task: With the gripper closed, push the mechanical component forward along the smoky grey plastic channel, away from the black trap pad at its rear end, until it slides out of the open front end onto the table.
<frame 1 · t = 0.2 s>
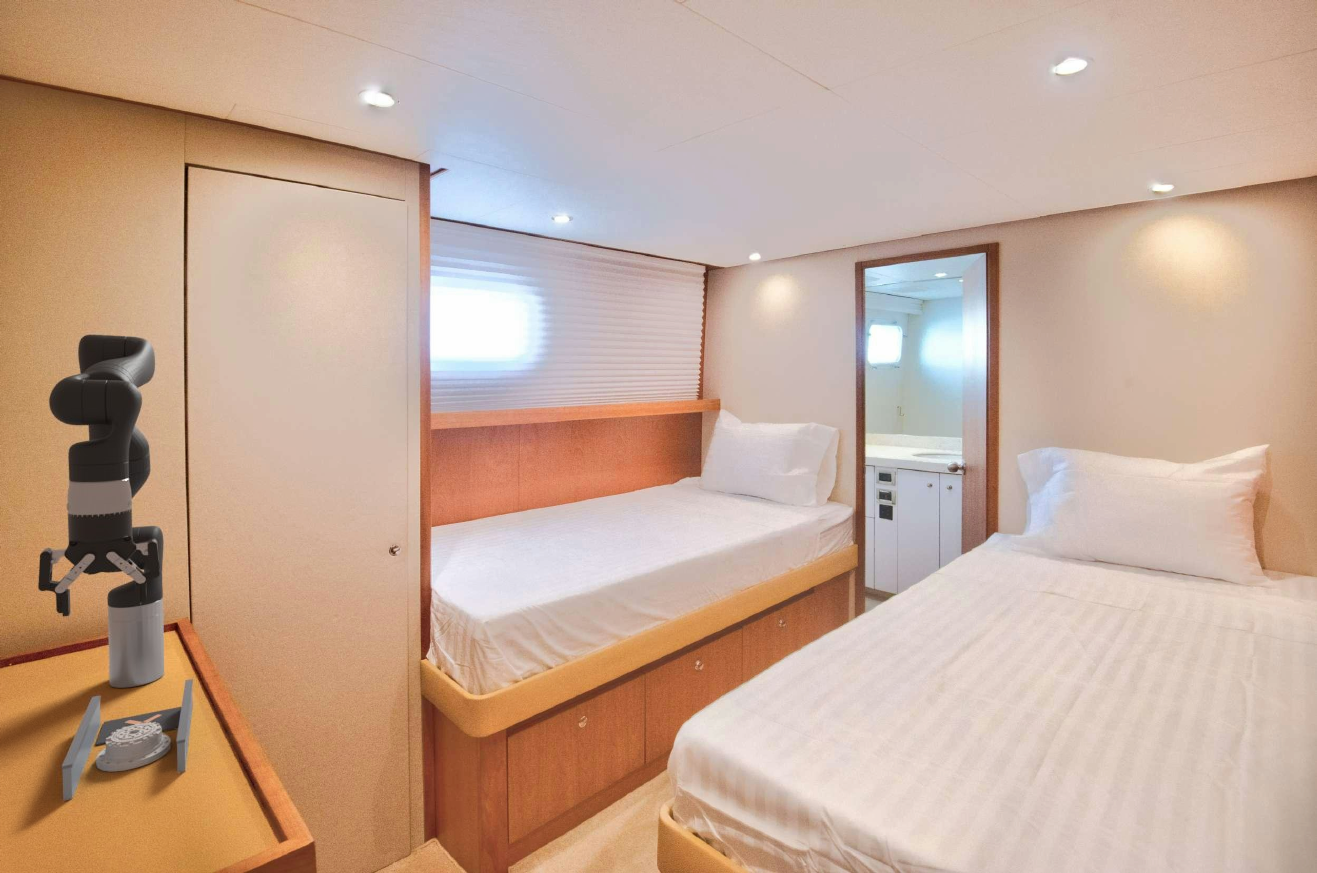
hand: (103, 609, 100), 28 cm above the table, tool pointing down, fingers open, 8 cm apart
plastic channel: (136, 746, 113), on the table
trap pad: (142, 725, 120), on the table
mechanical component: (134, 757, 110), on the table
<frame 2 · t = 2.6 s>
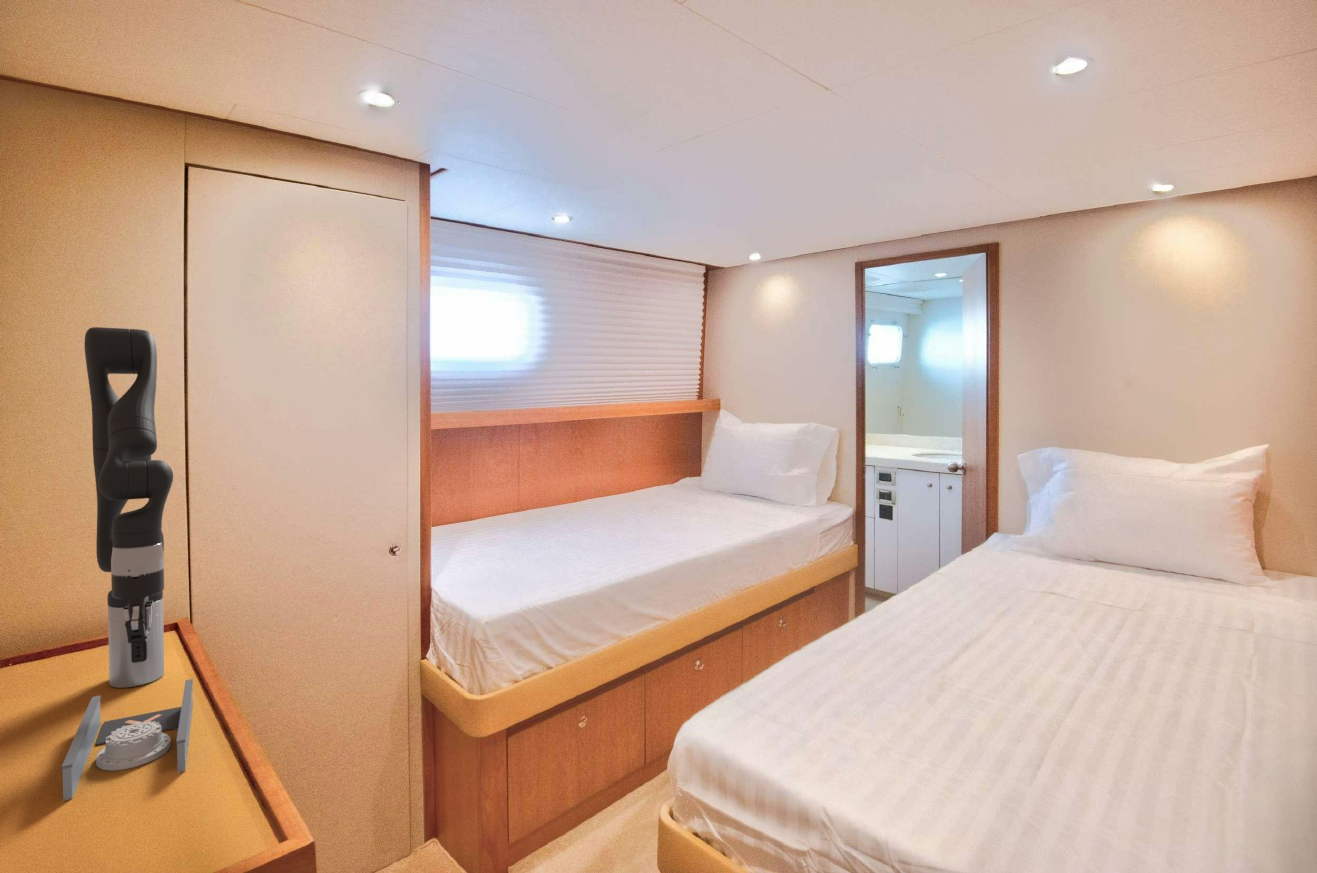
hand: (139, 660, 118), 13 cm above the table, tool pointing down, fingers closed
nothing on the table moved.
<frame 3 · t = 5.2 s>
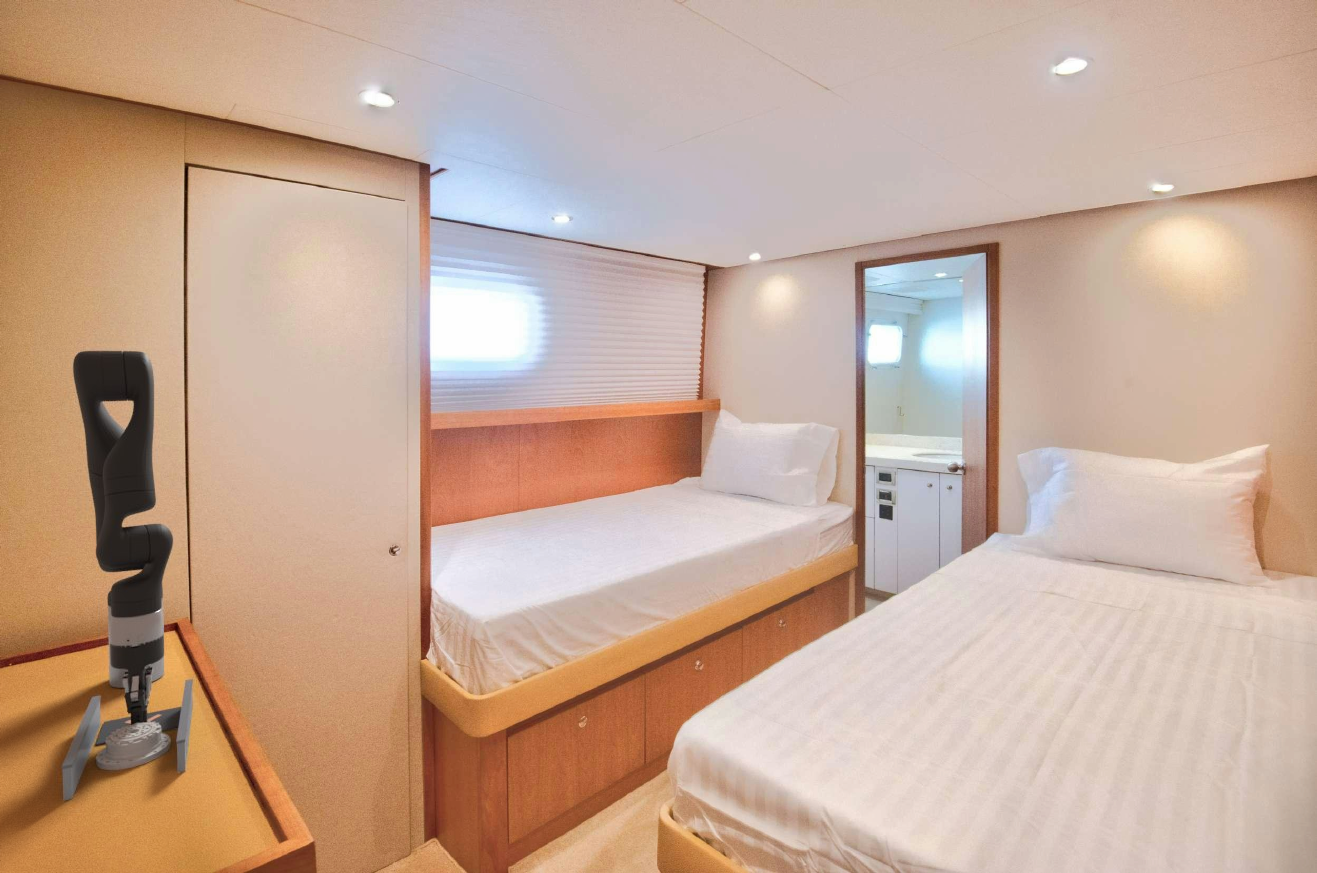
hand: (139, 729, 115), 2 cm above the table, tool pointing down, fingers closed
mechanical component: (134, 756, 111), on the table, touching gripper
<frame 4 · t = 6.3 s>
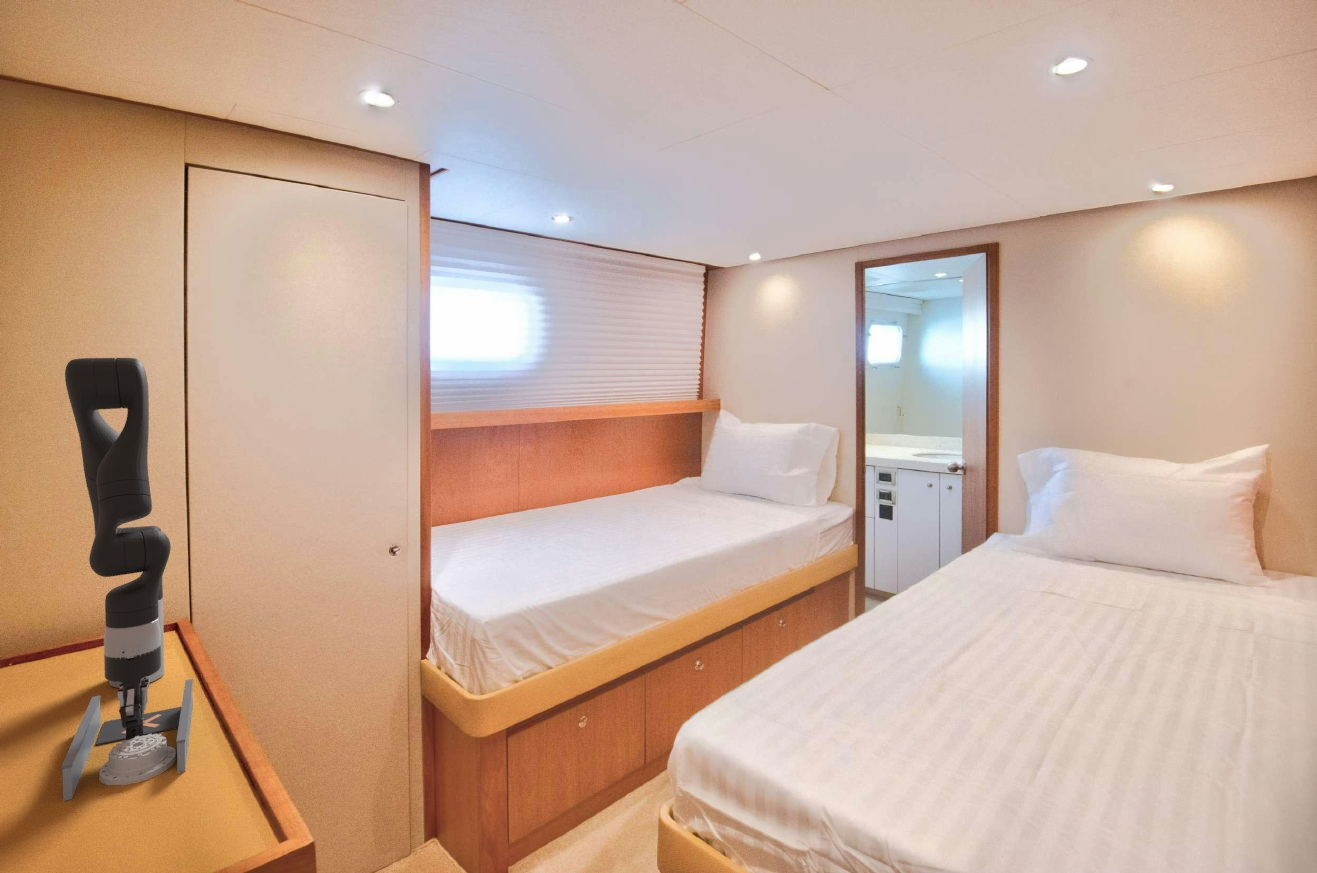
hand: (134, 743, 111), 2 cm above the table, tool pointing down, fingers closed
mechanical component: (138, 770, 107), on the table, touching gripper
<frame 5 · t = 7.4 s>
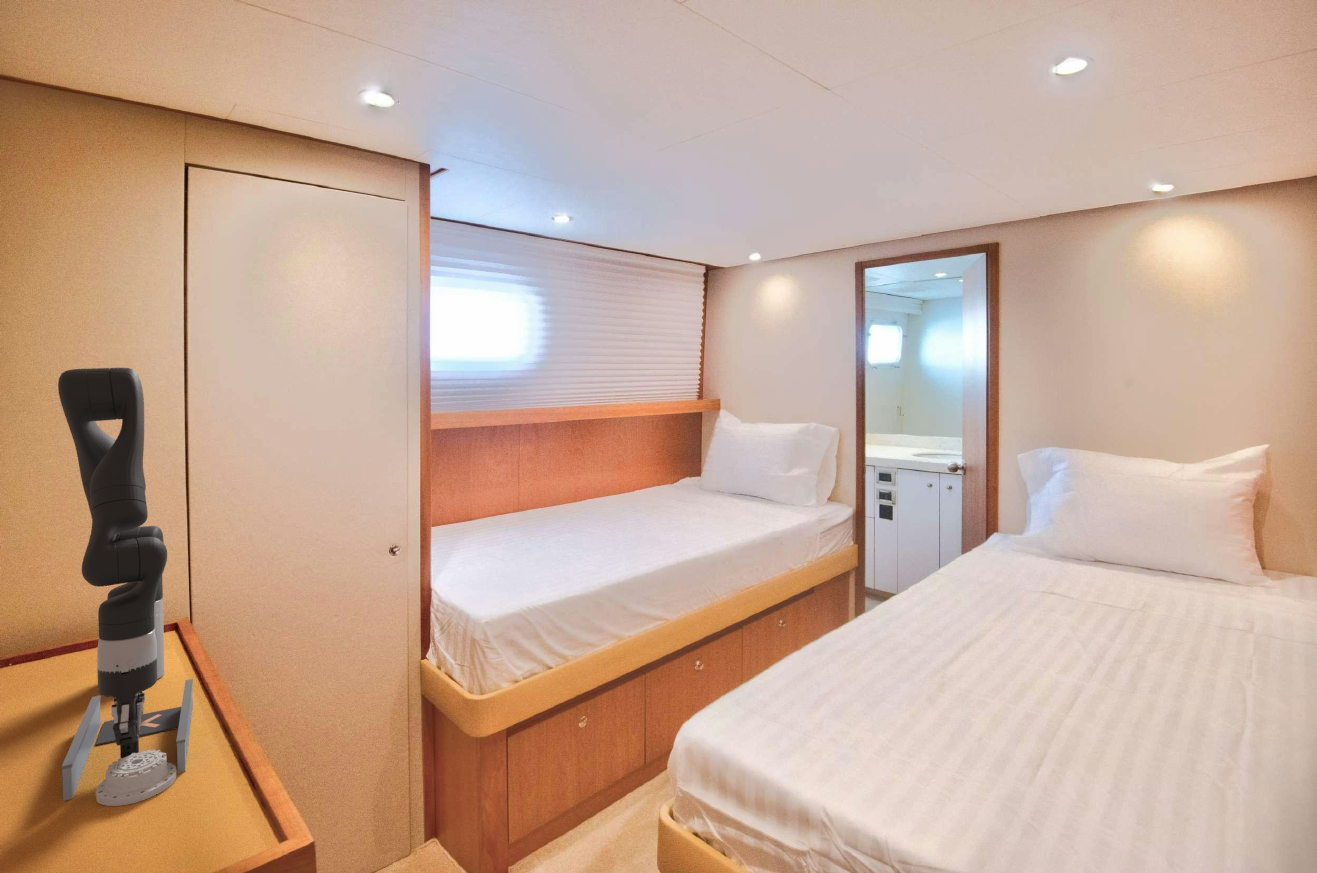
hand: (129, 761, 105), 2 cm above the table, tool pointing down, fingers closed
mechanical component: (137, 789, 102), on the table, touching gripper
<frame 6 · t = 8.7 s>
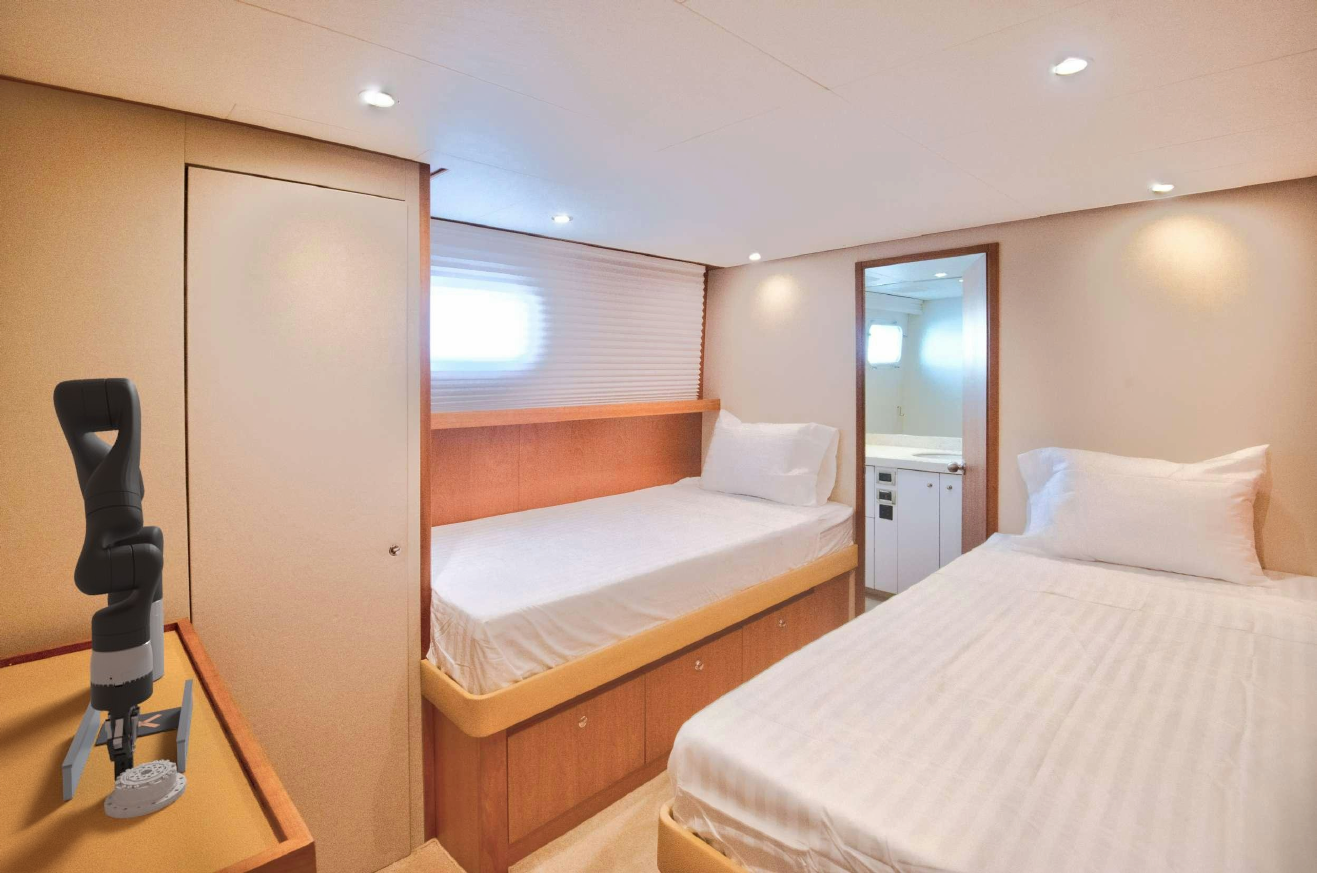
hand: (124, 778, 101), 2 cm above the table, tool pointing down, fingers closed
mechanical component: (146, 800, 99), on the table, touching gripper
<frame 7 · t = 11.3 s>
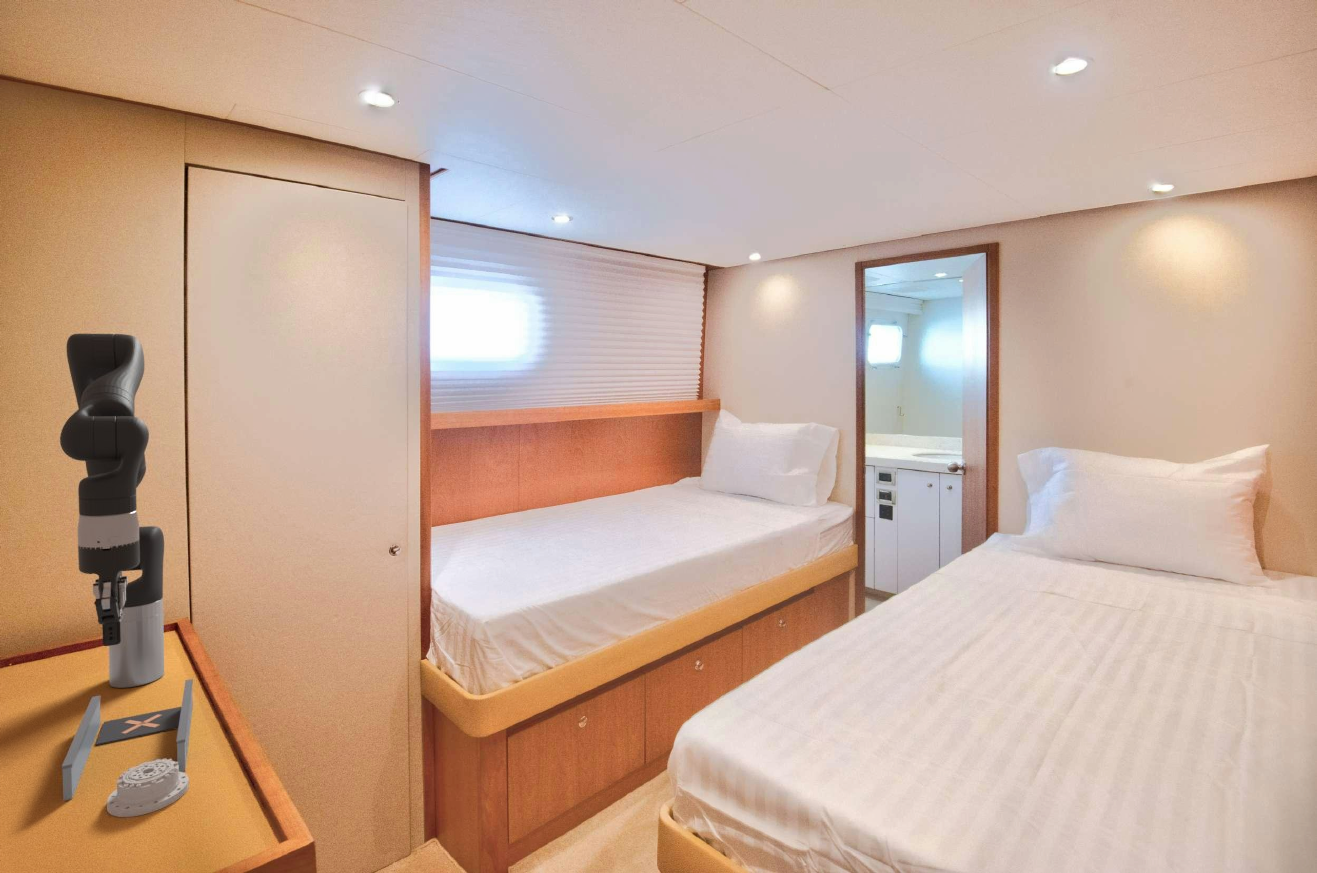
hand: (112, 643, 104), 22 cm above the table, tool pointing down, fingers closed
mechanical component: (149, 799, 99), on the table
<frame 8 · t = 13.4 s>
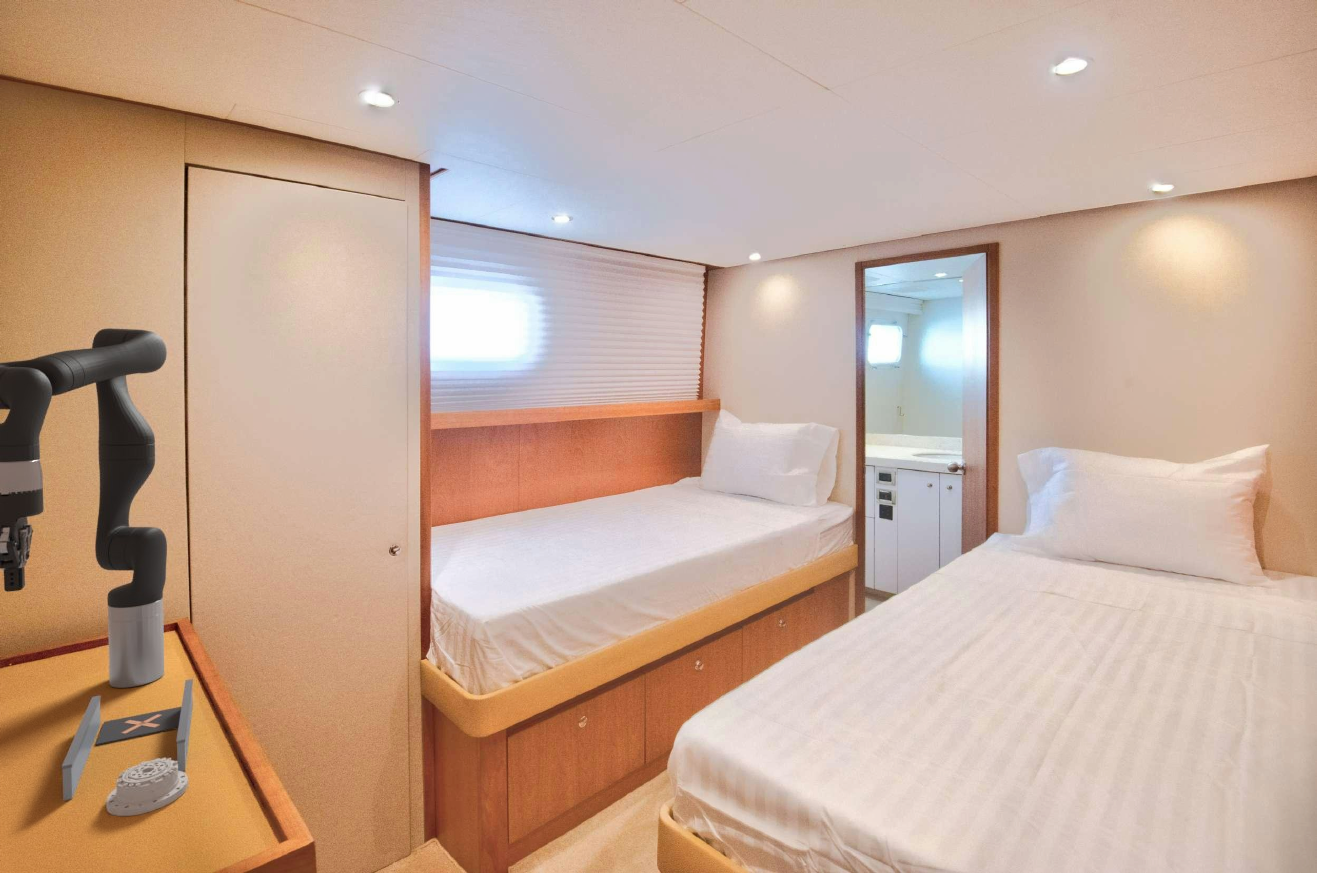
hand: (14, 589, 107), 29 cm above the table, tool pointing down, fingers closed
nothing on the table moved.
at the end: mechanical component inside the target area (6.5 cm from its centre), on the table; mechanical component tilted 0°; mechanical component moved 15.2 cm from its start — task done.
